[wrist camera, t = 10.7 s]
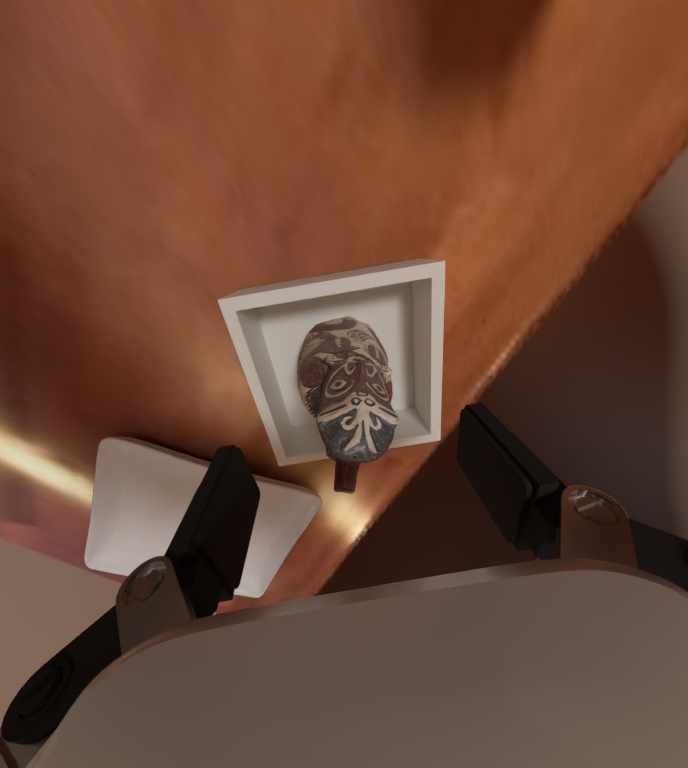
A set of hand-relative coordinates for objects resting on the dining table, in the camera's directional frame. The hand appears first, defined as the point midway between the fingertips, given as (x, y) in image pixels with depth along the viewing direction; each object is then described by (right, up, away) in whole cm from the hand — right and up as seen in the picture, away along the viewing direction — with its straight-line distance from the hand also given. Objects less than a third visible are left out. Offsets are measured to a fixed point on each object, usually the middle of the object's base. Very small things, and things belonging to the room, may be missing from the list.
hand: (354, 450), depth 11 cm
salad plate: (-17, -12, +20) cm, 29 cm away
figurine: (-1, +5, +11) cm, 12 cm away
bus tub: (0, +5, +12) cm, 13 cm away
